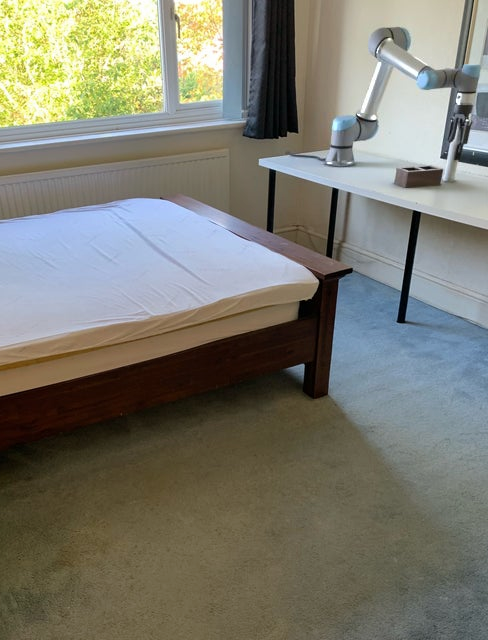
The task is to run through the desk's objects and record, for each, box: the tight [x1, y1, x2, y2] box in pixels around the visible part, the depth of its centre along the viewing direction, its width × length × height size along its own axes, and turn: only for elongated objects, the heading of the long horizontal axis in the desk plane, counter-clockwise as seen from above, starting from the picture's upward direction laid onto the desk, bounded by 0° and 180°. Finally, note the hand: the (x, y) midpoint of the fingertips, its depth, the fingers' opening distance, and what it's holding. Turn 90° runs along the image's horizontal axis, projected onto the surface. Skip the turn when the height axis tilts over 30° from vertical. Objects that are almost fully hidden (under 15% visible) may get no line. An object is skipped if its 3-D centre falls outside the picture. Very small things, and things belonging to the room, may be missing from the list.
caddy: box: [394, 164, 444, 189], centre depth 275 cm, size 10×18×7 cm, turn 104°
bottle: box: [442, 126, 459, 183], centre depth 275 cm, size 5×5×25 cm
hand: (453, 158), depth 276 cm, fingers closed on bottle, 5 cm apart
